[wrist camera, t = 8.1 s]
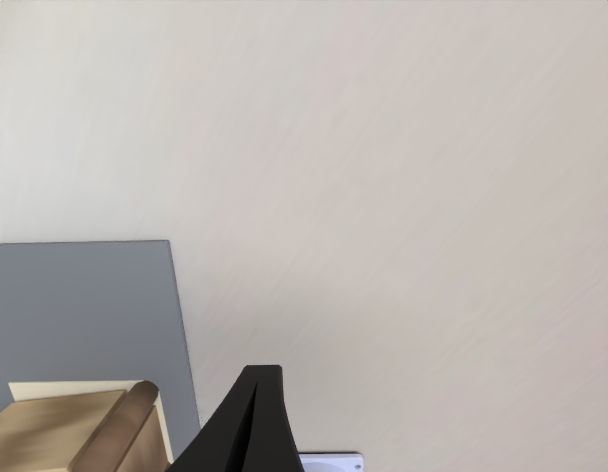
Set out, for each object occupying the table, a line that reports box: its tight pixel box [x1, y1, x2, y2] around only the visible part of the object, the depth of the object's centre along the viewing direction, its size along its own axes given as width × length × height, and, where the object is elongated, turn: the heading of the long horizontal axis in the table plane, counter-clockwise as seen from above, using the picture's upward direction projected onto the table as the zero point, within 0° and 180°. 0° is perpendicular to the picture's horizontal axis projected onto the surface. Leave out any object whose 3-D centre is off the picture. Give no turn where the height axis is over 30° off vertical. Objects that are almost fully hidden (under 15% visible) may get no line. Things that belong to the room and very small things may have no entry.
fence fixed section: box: [72, 380, 171, 472], centre depth 20 cm, size 10×2×6 cm, turn 1°
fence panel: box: [0, 391, 126, 472], centre depth 19 cm, size 9×1×6 cm, turn 98°
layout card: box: [0, 240, 200, 464], centre depth 22 cm, size 21×16×1 cm
